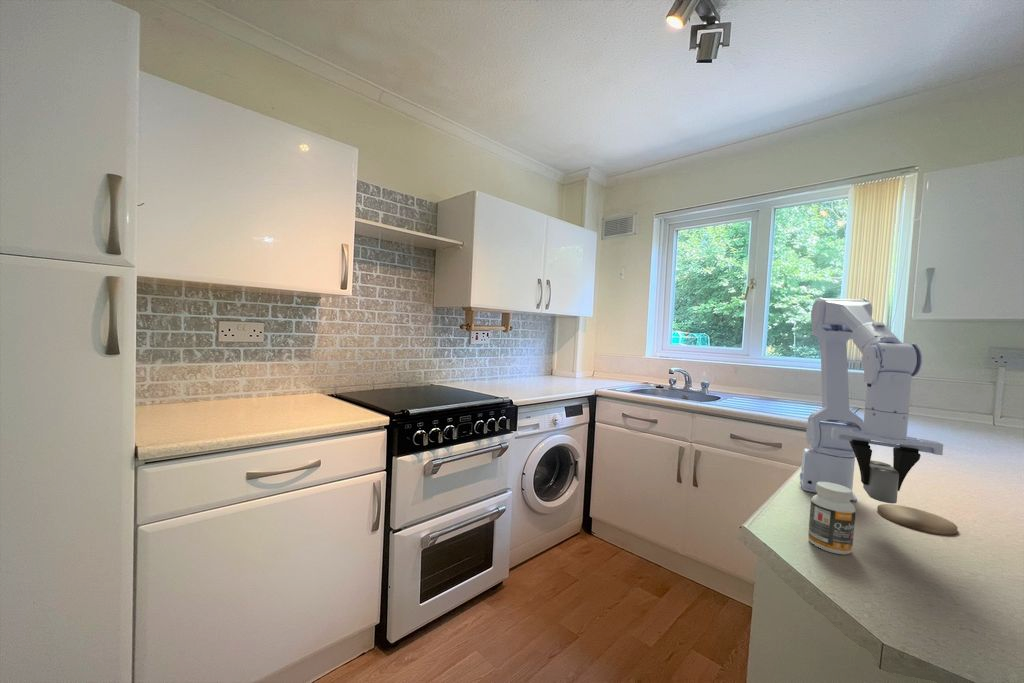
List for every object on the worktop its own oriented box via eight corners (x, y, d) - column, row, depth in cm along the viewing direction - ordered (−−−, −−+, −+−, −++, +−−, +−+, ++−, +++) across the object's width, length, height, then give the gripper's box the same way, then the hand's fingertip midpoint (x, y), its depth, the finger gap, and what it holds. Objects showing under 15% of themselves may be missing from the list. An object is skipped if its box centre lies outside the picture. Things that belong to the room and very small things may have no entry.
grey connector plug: (899, 505, 68) (901, 475, 68) (871, 499, 70) (874, 471, 69) (882, 485, 77) (884, 459, 77) (858, 481, 79) (860, 455, 79)
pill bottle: (840, 559, 63) (846, 496, 62) (800, 541, 68) (805, 482, 67) (859, 551, 65) (864, 491, 65) (818, 534, 70) (823, 478, 70)
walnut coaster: (884, 522, 77) (885, 518, 77) (871, 503, 86) (871, 499, 86) (968, 541, 71) (968, 536, 71) (944, 518, 80) (944, 514, 80)
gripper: (838, 407, 72) (831, 482, 73) (953, 420, 65) (945, 504, 65) (832, 402, 78) (826, 471, 79) (936, 414, 71) (930, 491, 71)
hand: (879, 486), depth 72 cm, fingers closed on grey connector plug, 3 cm apart
